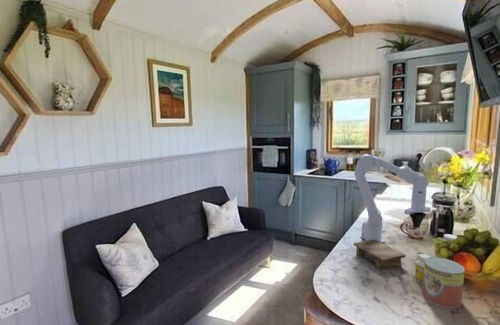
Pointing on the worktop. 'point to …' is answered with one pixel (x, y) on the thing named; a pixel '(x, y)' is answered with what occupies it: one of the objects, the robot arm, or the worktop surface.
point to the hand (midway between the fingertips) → (416, 227)
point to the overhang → (379, 253)
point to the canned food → (443, 282)
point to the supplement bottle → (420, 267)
